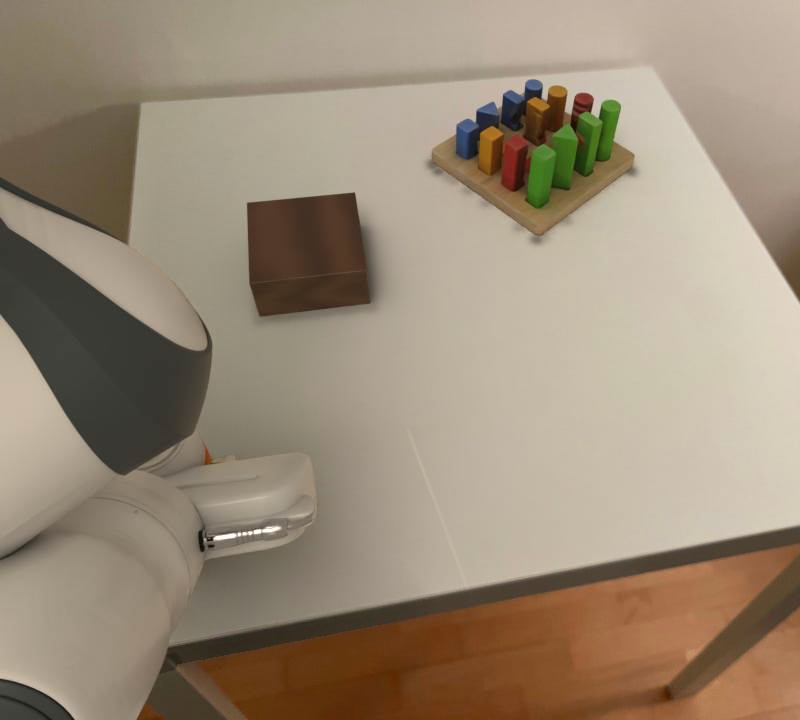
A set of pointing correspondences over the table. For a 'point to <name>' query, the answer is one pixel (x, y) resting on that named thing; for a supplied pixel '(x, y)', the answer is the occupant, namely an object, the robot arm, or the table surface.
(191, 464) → the orange beverage can
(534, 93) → the peg board
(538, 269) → the table surface
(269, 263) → the walnut block
